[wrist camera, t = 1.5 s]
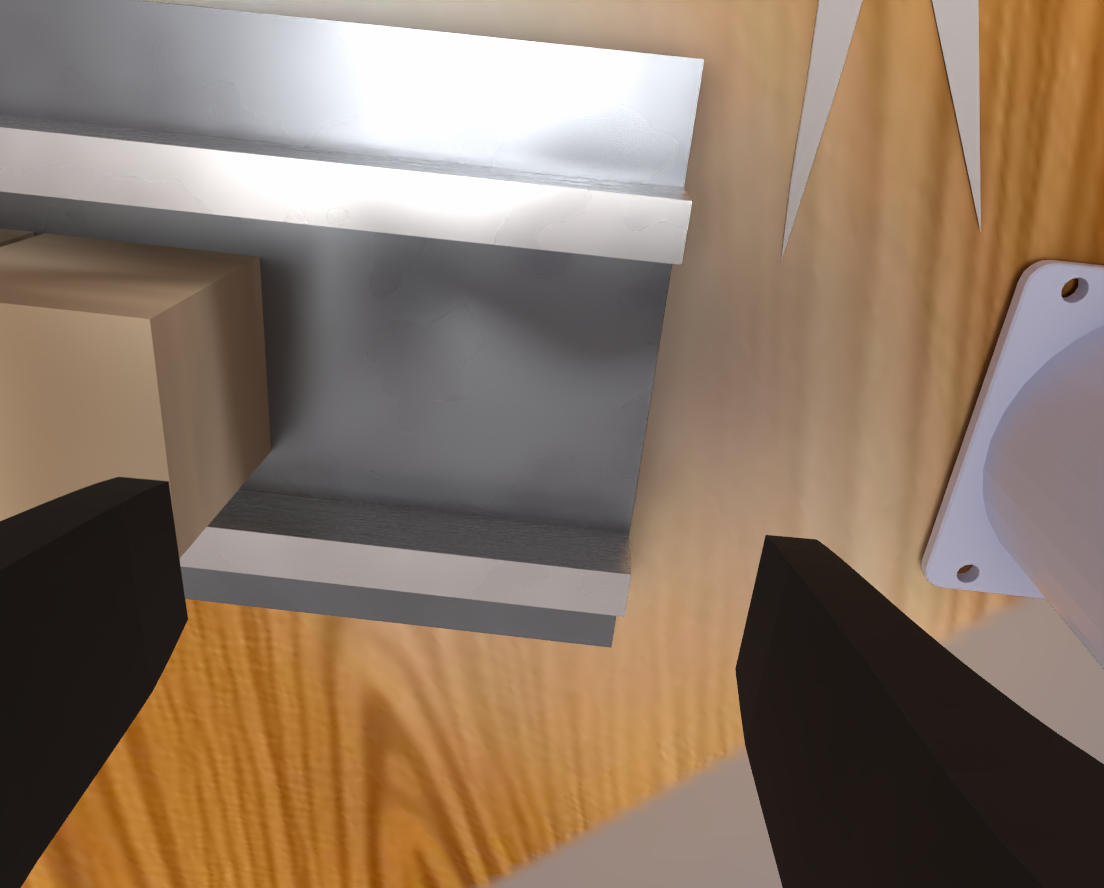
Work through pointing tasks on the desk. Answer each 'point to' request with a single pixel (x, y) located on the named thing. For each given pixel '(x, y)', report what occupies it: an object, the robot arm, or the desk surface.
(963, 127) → the scissors
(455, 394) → the slot board
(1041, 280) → the robot arm
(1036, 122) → the desk surface
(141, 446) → the block
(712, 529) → the desk surface
